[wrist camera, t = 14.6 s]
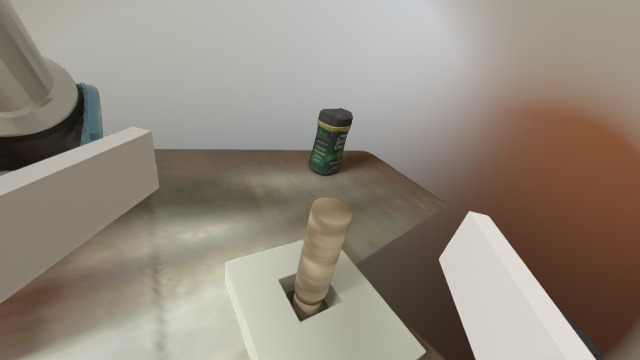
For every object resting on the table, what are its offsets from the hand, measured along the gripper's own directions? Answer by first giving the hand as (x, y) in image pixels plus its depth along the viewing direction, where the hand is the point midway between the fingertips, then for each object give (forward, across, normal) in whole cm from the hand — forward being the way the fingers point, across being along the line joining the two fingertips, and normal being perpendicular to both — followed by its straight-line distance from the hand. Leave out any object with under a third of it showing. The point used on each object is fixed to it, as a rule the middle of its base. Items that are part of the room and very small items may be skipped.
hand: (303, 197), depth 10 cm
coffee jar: (+59, 0, -29) cm, 66 cm away
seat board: (+12, +4, -28) cm, 31 cm away
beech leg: (+14, +2, -28) cm, 31 cm away
